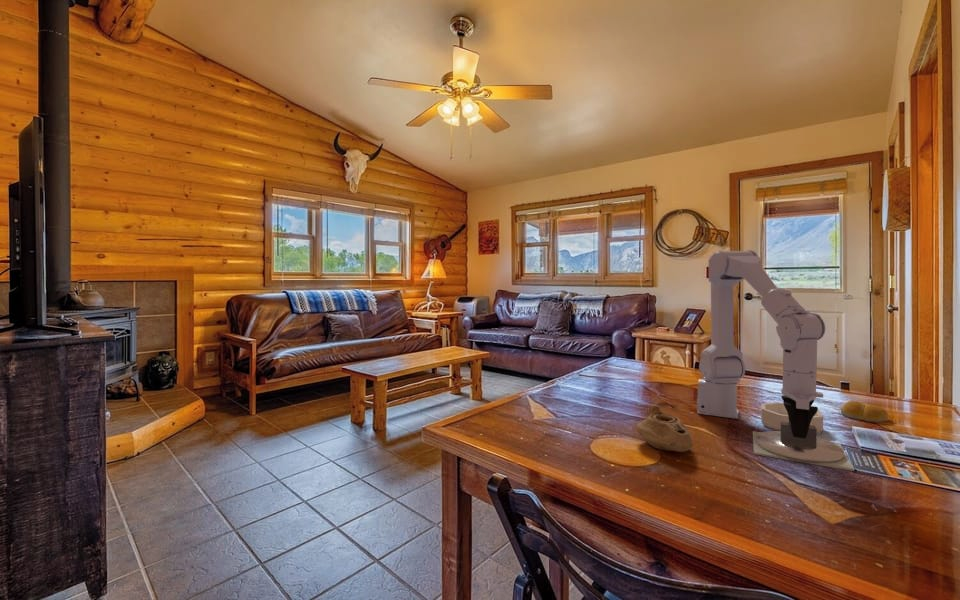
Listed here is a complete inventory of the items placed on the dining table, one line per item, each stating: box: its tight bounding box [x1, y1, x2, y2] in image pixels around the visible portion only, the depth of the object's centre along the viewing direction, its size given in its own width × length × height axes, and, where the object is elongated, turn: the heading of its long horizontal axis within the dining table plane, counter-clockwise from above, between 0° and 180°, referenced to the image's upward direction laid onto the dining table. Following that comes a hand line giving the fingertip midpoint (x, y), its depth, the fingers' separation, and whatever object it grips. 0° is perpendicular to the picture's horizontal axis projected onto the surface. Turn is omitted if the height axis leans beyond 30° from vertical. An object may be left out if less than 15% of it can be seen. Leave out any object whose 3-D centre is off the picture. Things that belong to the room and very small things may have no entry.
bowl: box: [760, 401, 824, 435], centre depth 105 cm, size 12×12×4 cm
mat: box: [752, 430, 855, 472], centre depth 91 cm, size 16×14×1 cm
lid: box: [756, 421, 845, 463], centre depth 91 cm, size 15×15×5 cm
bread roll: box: [840, 400, 889, 423], centre depth 111 cm, size 8×9×4 cm
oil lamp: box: [635, 403, 694, 453], centre depth 93 cm, size 11×15×8 cm
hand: (798, 433), depth 91 cm, fingers open, 4 cm apart
